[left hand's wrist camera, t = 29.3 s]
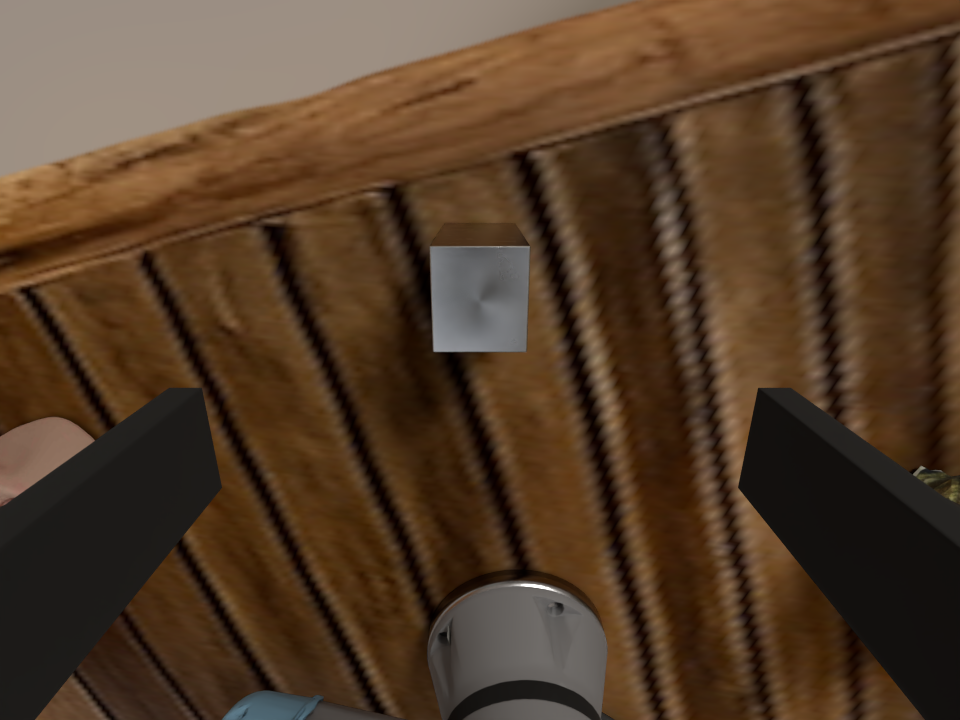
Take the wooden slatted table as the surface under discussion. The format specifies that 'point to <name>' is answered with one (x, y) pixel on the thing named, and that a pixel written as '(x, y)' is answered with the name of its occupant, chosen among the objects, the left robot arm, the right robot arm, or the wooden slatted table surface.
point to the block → (479, 288)
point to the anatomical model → (36, 453)
